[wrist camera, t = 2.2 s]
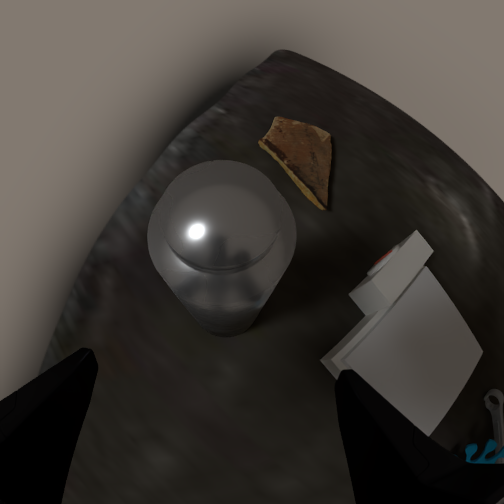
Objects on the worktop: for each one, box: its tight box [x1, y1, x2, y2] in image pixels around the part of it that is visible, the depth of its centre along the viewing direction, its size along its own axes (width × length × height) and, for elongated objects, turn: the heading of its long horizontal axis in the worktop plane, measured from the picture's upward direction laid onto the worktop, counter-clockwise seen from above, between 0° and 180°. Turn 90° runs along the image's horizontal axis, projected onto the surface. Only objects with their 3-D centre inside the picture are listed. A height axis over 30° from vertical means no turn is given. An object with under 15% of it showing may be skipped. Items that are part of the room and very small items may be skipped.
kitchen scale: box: [320, 230, 483, 436], centre depth 19 cm, size 12×15×4 cm
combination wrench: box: [484, 389, 504, 464], centre depth 14 cm, size 4×1×20 cm
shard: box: [258, 117, 332, 210], centre depth 27 cm, size 11×8×2 cm
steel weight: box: [147, 160, 296, 337], centre depth 14 cm, size 5×5×14 cm
